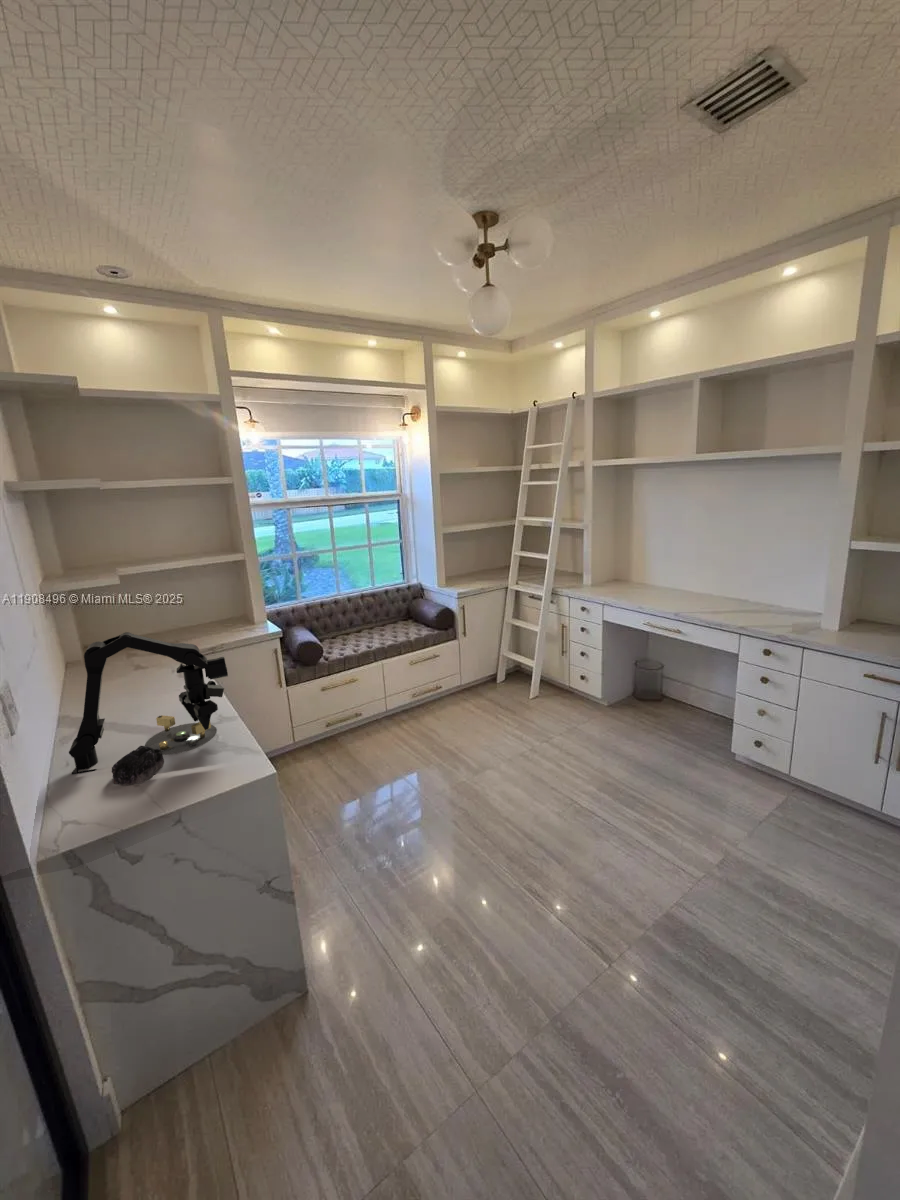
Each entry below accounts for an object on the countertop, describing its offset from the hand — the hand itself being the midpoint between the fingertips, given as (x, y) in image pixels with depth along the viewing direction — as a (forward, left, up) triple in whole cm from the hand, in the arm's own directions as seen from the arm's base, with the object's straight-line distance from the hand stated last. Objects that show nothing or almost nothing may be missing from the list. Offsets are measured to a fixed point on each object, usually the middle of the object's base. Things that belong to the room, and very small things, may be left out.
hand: (201, 725), depth 170 cm
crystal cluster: (-17, +15, -6) cm, 23 cm away
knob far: (+9, +13, -4) cm, 17 cm away
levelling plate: (+2, +7, -6) cm, 9 cm away
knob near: (0, 0, -4) cm, 5 cm away
